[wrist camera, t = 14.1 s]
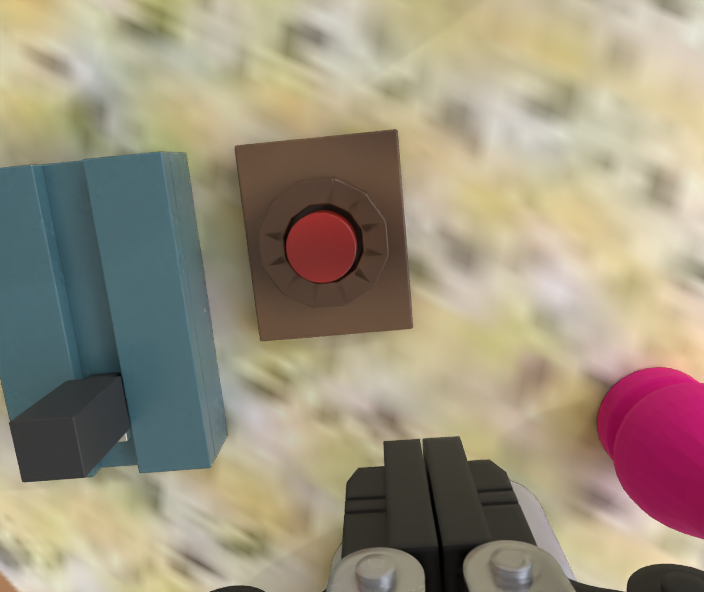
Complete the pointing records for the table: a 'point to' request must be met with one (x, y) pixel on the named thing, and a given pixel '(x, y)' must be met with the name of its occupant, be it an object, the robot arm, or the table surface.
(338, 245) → the button
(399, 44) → the table surface
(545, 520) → the lumpy-topped squat cylinder
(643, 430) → the pepper mill
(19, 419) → the slider
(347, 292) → the panel
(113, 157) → the control base
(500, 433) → the table surface
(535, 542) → the robot arm
